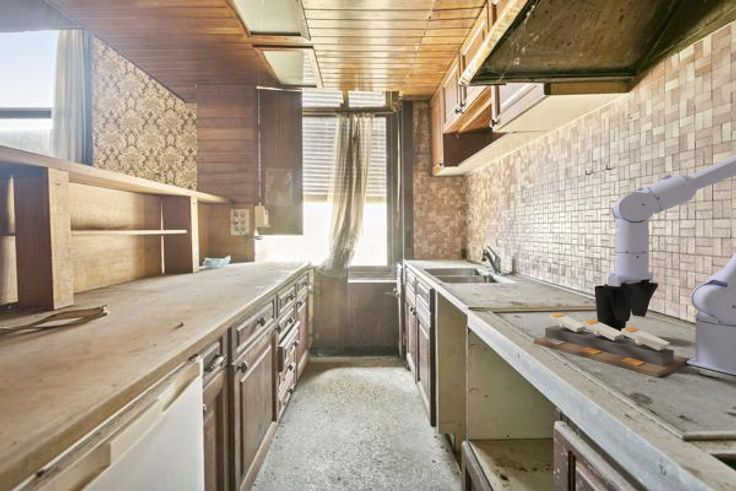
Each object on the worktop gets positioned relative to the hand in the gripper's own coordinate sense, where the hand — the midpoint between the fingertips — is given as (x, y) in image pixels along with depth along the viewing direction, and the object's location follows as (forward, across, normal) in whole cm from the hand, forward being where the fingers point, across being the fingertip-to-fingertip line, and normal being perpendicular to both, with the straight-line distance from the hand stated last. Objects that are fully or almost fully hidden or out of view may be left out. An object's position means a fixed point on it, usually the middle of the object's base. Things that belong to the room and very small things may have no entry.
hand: (630, 318), depth 78 cm
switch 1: (+5, 0, -14) cm, 15 cm away
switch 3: (+5, 0, +2) cm, 5 cm away
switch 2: (+5, 0, -6) cm, 7 cm away
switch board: (+8, 0, -5) cm, 10 cm away
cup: (+9, -16, -12) cm, 21 cm away
